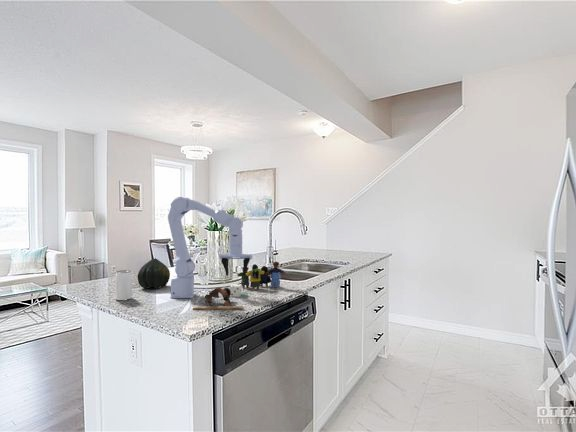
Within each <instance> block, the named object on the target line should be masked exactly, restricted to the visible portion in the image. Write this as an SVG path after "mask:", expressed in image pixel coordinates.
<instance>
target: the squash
mask: <svg viewBox="0 0 576 432" xmlns="http://www.w3.org/2000/svg"><path fill="white" fill-rule="evenodd" d="M170 276H171V271H170V269H169V267H168V266H167V265H166V264H165V263H163V262H162V261H160V260H159V259H158V258H156V257H155V258H152V259H150V260H149V261H148V262H146V263H144V264H143V265H142V266H141V268H140V269H139V271H138V273H137V282H138V284H139V286H140V287H141V288H143V289H150V288H153V289H156V290H159V289H160V288H164V287H166V286H167V284H168V283H169V281H170V279H171V278H170Z"/></svg>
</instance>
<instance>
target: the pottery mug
mask: <svg viewBox="0 0 576 432" xmlns="http://www.w3.org/2000/svg"><path fill="white" fill-rule="evenodd" d="M219 295H221V296H222V298H223V301H224V302H223V305H224V306H231V305H232V302H231V300H230V298H231V297H230V295H231V291H230V287H229V288H228V287H225V288H221V286H218V287H216V288H214V289H213V290H211V291H209V292H208V293H207V294H206V295H205V296H204V299H205V303H206V304H207V303H208V304H211V303H212V302H213V298H215V299H220V296H219Z"/></svg>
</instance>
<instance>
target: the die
mask: <svg viewBox="0 0 576 432" xmlns="http://www.w3.org/2000/svg"><path fill="white" fill-rule="evenodd" d="M229 289H230V291H231V295H230V297H229V298H241V297H240V296H241V293H242V285H241V283H231V284H230V285H229Z"/></svg>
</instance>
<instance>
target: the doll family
mask: <svg viewBox="0 0 576 432" xmlns="http://www.w3.org/2000/svg"><path fill="white" fill-rule="evenodd" d="M272 265H273V268H270V269H269V268H268V267H267V266H265V265H263V266H262V267H261V268H259V267H258V265H257V264H255V263H254V264H252V267H251V270H250V269H249V267H248V266H247V269H246V275H245V276H243V271H244V266H242V267H241V270H242V271H241V272H239V273H237V275H236V276H237V277H241V283H240V284H241V290H245V289H250V288H251V290H260V288H263V287H269V284H270V287H271V288H275V287H276V288H280V287H281V285H280V284H281V281H280V280H281V279H280V278H281V277H280V274H281V275H286V274H287V273H286V272H285V271H284V270H283V269H281V268H279V265H280V262H278V261H273V262H272Z"/></svg>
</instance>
